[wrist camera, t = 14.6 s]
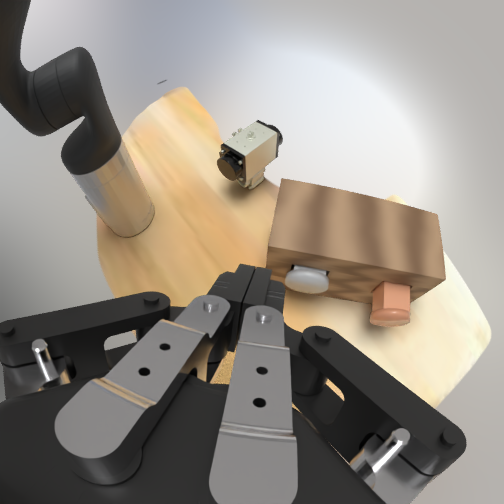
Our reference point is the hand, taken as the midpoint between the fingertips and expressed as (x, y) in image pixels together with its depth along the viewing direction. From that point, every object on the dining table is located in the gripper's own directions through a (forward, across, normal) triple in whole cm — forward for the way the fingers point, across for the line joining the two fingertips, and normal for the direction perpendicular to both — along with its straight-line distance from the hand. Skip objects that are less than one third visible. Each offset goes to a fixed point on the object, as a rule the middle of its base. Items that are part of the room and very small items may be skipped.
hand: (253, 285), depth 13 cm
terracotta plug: (+24, -17, +9) cm, 31 cm away
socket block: (+30, -11, +9) cm, 33 cm away
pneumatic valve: (+41, +7, -1) cm, 42 cm away
